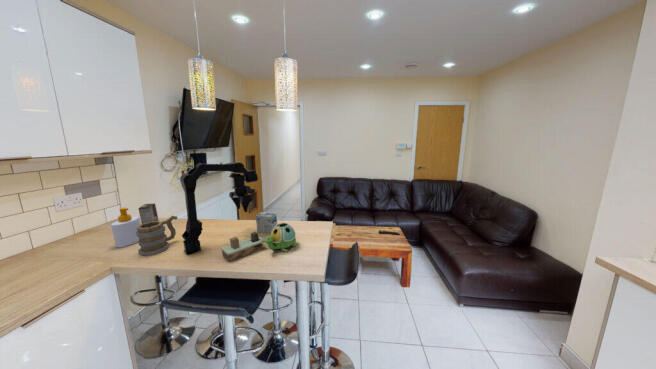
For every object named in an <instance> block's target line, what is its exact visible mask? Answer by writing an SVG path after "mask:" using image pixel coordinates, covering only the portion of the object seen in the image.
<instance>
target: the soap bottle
mask: <svg viewBox="0 0 656 369" xmlns="http://www.w3.org/2000/svg"><path fill="white" fill-rule="evenodd" d="M127 211H129V208H127V207H120V208H119V212H120V214H119V215H118V218H117V221H114V222H113V223H111V225H110V226H111V230H112V231H111V232H112V235H113V240H114V243H115V247H116V248H124V247H128V246H132V245H133V244H136V243H138V241H139V237H137V235H136V232H137V227H138V226H139V225H141V224H142V223H141V219H140V216H139V217H138V216H132V215H131V214H129V213H128V212H127Z"/></svg>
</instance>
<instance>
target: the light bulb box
mask: <svg viewBox="0 0 656 369" xmlns="http://www.w3.org/2000/svg"><path fill="white" fill-rule="evenodd" d="M277 217H278V216H277V212H264V211H263V212H262V211H261V212H259V213H257V214H256V215H255V221H256V222H255V223H256V232H257V233H262V234H264V233H265V234H271V232H272V230H273V228H274V227H275V226H276V225H278V218H277Z"/></svg>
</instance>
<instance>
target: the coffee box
mask: <svg viewBox="0 0 656 369" xmlns="http://www.w3.org/2000/svg"><path fill="white" fill-rule="evenodd" d="M138 213H139V219H140V224H144V223H147V222H152V221H160V220H159V217H158V216H159V215H158V210H157V206H156V203H144V204H143V205H141V206H140V207H138Z"/></svg>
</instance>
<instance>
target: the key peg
mask: <svg viewBox="0 0 656 369" xmlns="http://www.w3.org/2000/svg"><path fill="white" fill-rule="evenodd" d="M259 237H260V236H259V232H257V231H253V232H251V233H250V238H251V242H253V243H254V242H256V241H259ZM257 246H259V244H258V245H255V247H257Z"/></svg>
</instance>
